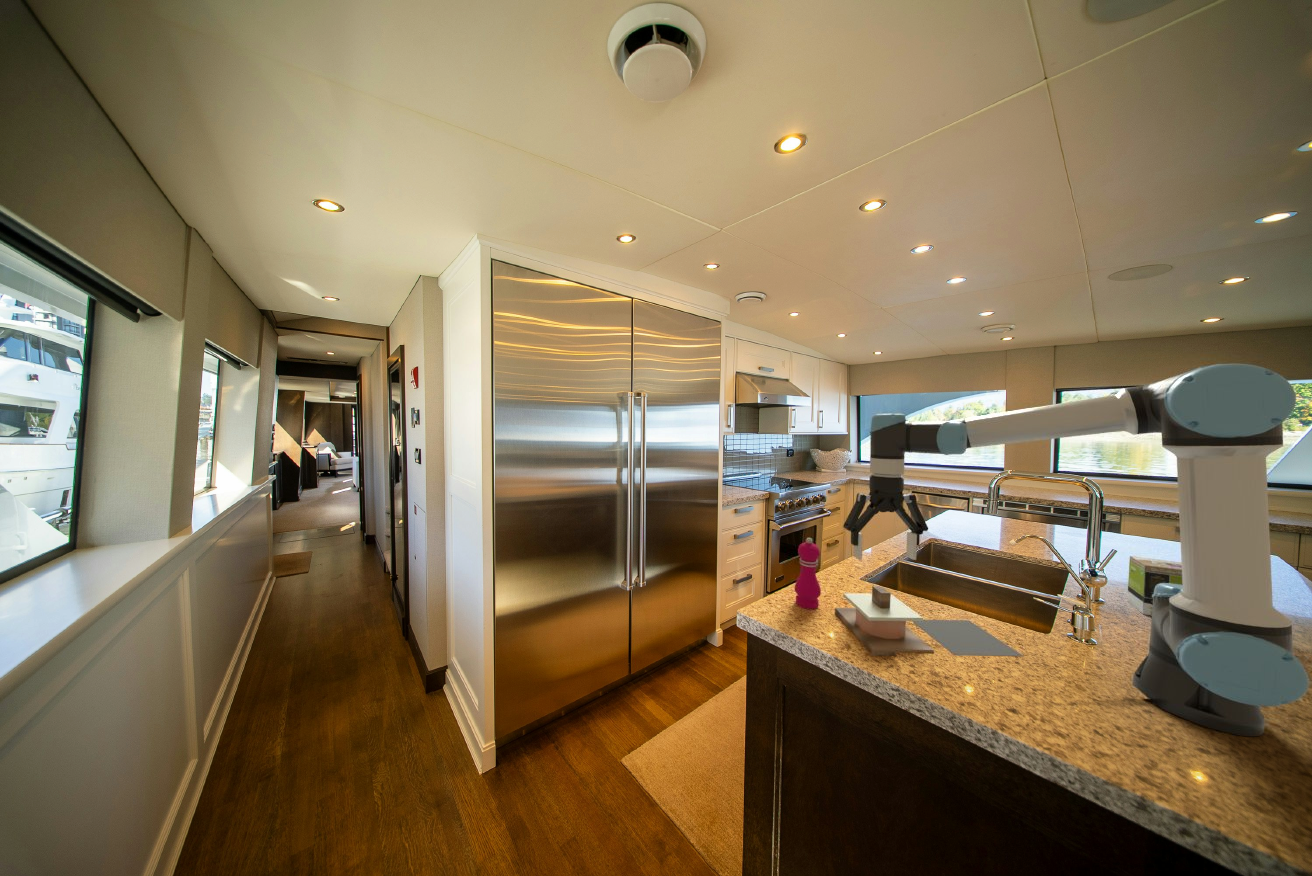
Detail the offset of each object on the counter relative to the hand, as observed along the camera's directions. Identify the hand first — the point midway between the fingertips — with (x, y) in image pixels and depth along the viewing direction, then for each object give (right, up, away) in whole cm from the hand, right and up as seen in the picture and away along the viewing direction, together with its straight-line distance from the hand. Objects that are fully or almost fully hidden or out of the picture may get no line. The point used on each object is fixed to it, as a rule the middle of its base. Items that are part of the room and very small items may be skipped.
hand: (884, 558), depth 101 cm
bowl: (0, -18, +1) cm, 18 cm away
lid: (0, -13, +1) cm, 13 cm away
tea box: (+91, -21, +13) cm, 94 cm away
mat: (+18, -20, -2) cm, 27 cm away
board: (-1, -20, +1) cm, 20 cm away
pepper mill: (-13, -19, +16) cm, 28 cm away
